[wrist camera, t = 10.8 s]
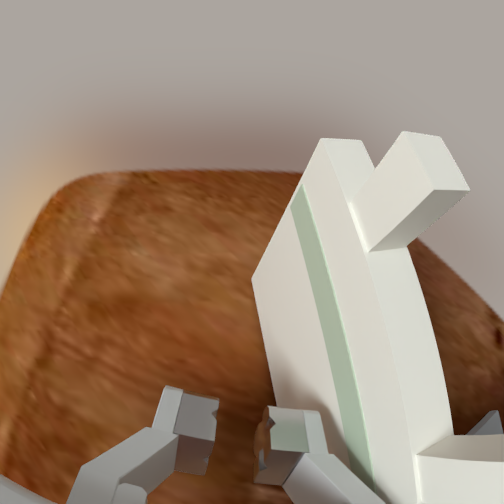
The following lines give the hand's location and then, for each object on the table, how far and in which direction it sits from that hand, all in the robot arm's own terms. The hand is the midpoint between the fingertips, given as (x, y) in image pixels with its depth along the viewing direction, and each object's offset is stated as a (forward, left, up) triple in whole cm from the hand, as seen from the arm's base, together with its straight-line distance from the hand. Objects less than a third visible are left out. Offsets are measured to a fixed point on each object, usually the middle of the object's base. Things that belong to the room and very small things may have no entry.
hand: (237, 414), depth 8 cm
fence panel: (-3, +3, -6) cm, 7 cm away
